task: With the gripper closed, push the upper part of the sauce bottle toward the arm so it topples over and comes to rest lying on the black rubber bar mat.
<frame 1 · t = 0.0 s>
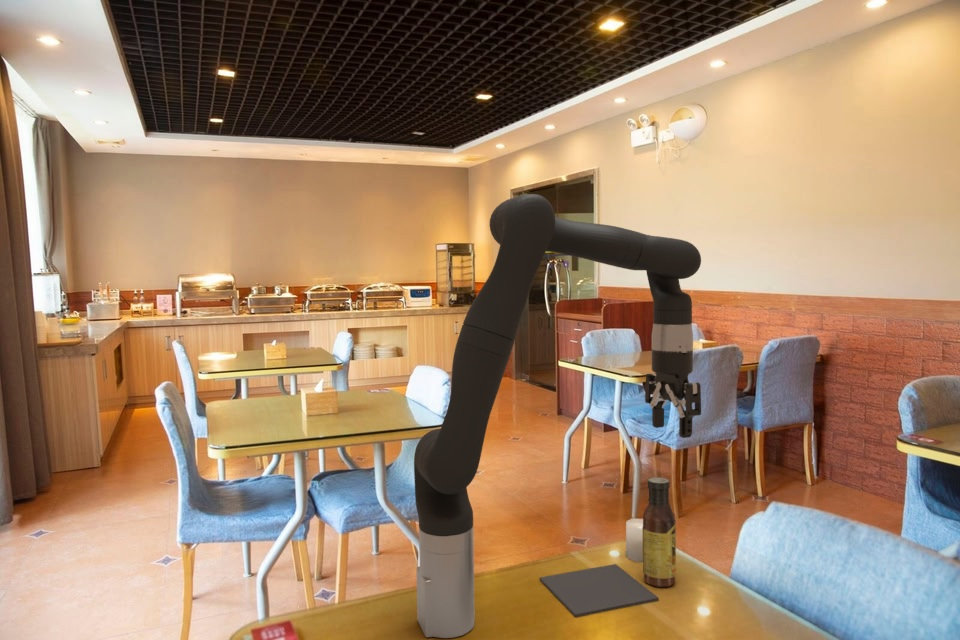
hand: (671, 432, 125), 29 cm above the table, fingers open, 8 cm apart
white rounded cylinder: (640, 556, 138), on the table
bar mat: (597, 589, 124), on the table
sauce bottle: (658, 581, 127), on the table
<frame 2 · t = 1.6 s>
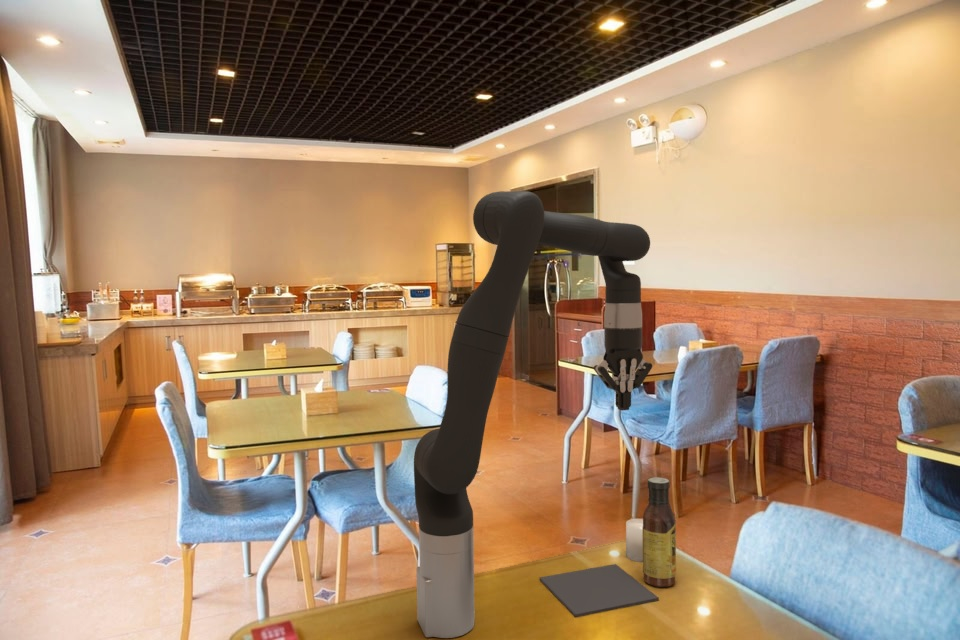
hand: (623, 409, 134), 32 cm above the table, fingers closed
nothing on the table moved.
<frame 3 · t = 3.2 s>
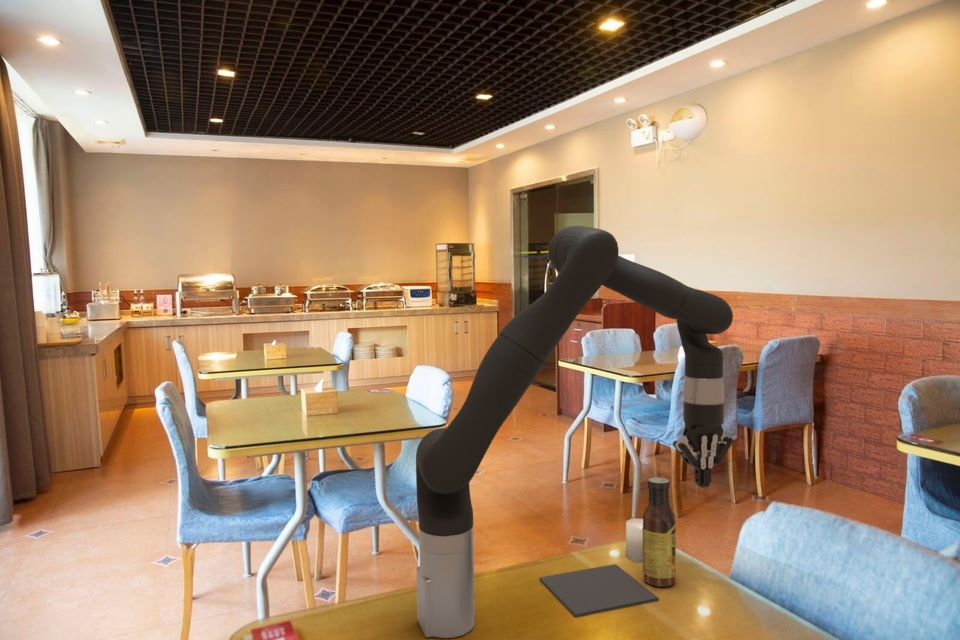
hand: (702, 486, 129), 18 cm above the table, fingers closed
nothing on the table moved.
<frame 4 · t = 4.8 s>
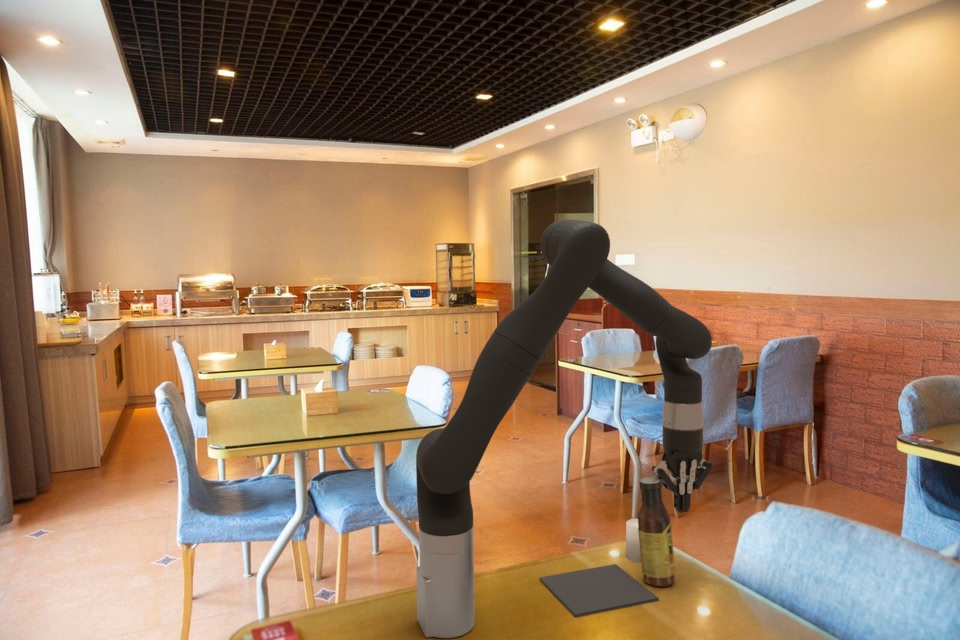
hand: (682, 511, 128), 13 cm above the table, fingers closed
sauce bottle: (658, 580, 127), on the table, touching hand
everything else where it was.
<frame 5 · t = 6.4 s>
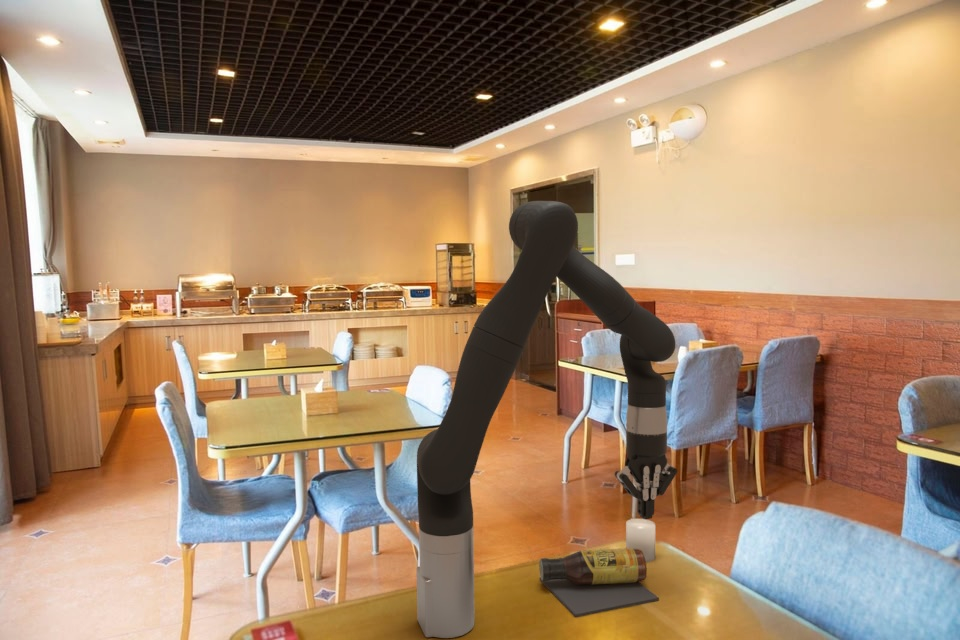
hand: (645, 517, 125), 13 cm above the table, fingers closed
sauce bottle: (643, 563, 126), point 4 cm above the table, touching bar mat
everything else where it was.
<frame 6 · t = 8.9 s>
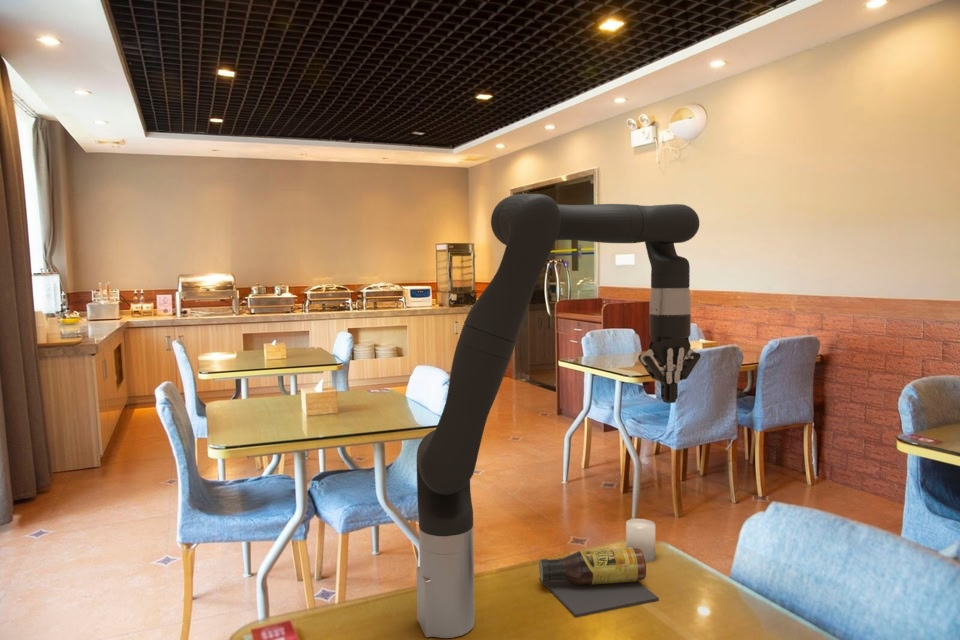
hand: (669, 402, 125), 35 cm above the table, fingers closed
nothing on the table moved.
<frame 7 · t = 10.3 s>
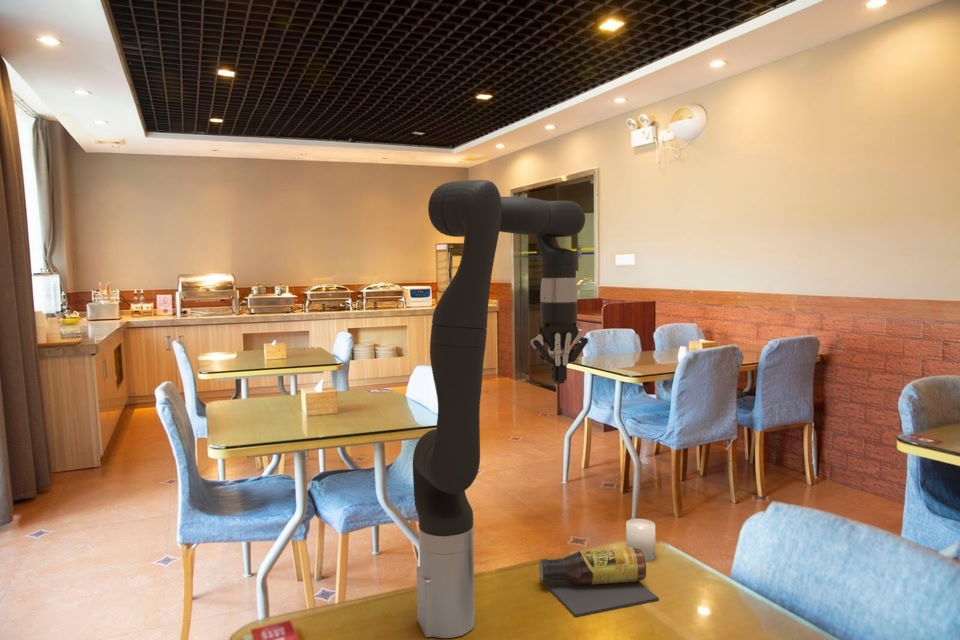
hand: (559, 383, 136), 37 cm above the table, fingers closed
nothing on the table moved.
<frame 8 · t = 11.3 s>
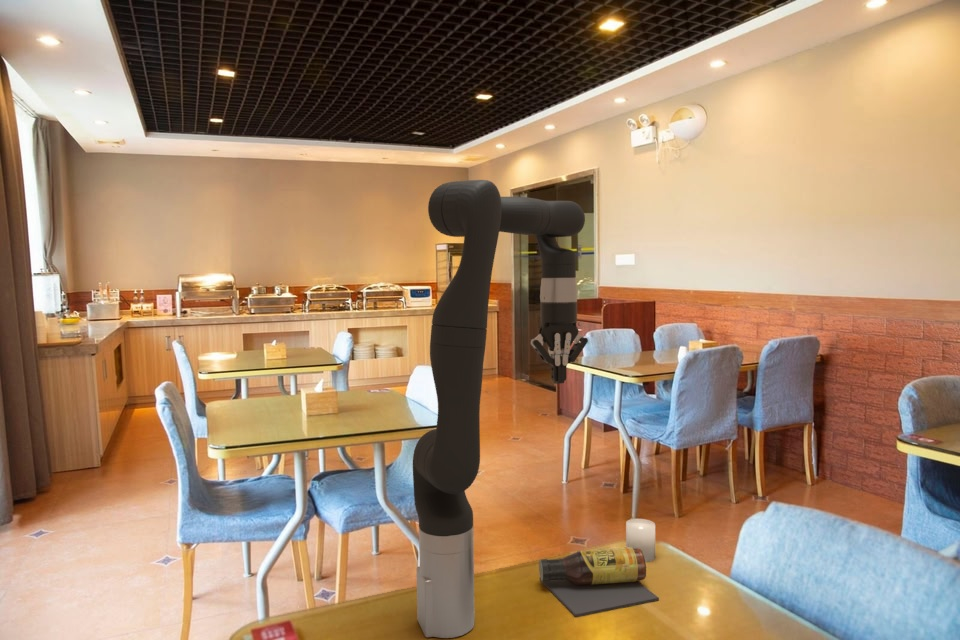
hand: (558, 383, 136), 37 cm above the table, fingers closed
nothing on the table moved.
at the end: sauce bottle tilted 91°; sauce bottle inside the target area (7.8 cm from its centre), point 3.8 cm above the table; the gripper is holding nothing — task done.
